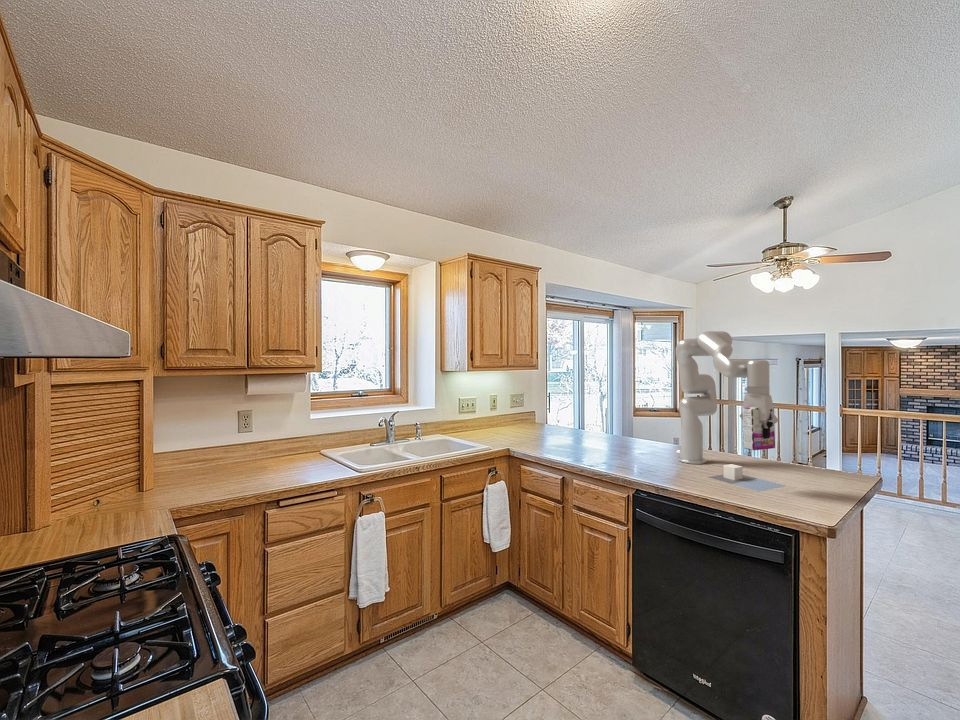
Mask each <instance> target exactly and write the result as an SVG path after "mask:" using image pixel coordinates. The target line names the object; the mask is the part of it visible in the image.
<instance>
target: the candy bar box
mask: <svg viewBox="0 0 960 720" xmlns="http://www.w3.org/2000/svg"><path fill="white" fill-rule="evenodd" d="M773 409H774V410H775V407H774V406H773ZM742 412H743V419H742V438H743V449H745V450H749V451H750V450H751V451H760V450H770V449H776V436H775V435H776V433H775V430H776V429H775V425H776V423H775V424H774V425H773V426H772V427H771V428H770V438H766V439H764V438H763V428H764V425H763V422H762V421H759V411H758V408H753V407H744V408H743V407H742ZM771 421H772V420H770V422H771Z"/></svg>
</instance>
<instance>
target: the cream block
mask: <svg viewBox="0 0 960 720" xmlns="http://www.w3.org/2000/svg"><path fill="white" fill-rule="evenodd" d="M722 467H723V474H724V477H725V478H728V479H732V480H738V479H743V475H744V474H743V472H744V471H743V470H744V469H743V466H741V465H737V464H732V463H731V464H730V463H729V464H724V465H723V466H722Z"/></svg>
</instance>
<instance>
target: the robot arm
mask: <svg viewBox="0 0 960 720" xmlns="http://www.w3.org/2000/svg"><path fill="white" fill-rule="evenodd" d="M732 344H733V338H732V336H731V335H730V333H728V332H727V331H724V330H720V331H719V330H718V331H715V330H713V331H712V330H710V331H704V332H701V333H700V334H699V335H698V336H697V338H686V339H682V340H680V341H679V342H677V344H676V346H675V358H676V360H677V364H678V369H679V370H678V371H679V372H678V373H679V383H680V389H681V391H682V393H684V394H687V395H688V394H689V395H697V394H698V395H699V394H700V395H701V396H686V397H682V398H681V399H680V400H679V403H678V409H679V415H680V426H681V427H680V428H681V429H680V430H681V431H680V432H681V434H680V435H681V439H680V440H681V449H678V450H676V451H675V453H676V454H677V455H679V456H678V458H677V460H678V461H679V462H681V463H684V464H691V465H692V464H693V465H702V464H706V463H707V462H708V461H707V460H708V459H706V458H705V457H704V434H703V433H704V429H703V427H704V426H703V423H702V422H701V419H700V418H699V417H706V416H707V417H708V416H713V415H715V414H716V413H717V410H718V397H717V387H716V382H715V380H714V378H713V377H712V376H711V375H710V374H703V373H702V374H701V373H700V372H699V365H698V363H697V362H696V360H695V358H694V357H710V356H711V357H712V361H713V362H712V363H713V366H714V368H715V369H716V370H717V371H718V372H719V373H720V374H721V375H723V376H725V377H726V378H731V379H735V378H739V379H740V378H744V379H745V378H746V385H747V386H746V387H744V390H745V391H746V393H745V395H744V397H743V403H742V408H744V407H753V408H758V411H759V421H762V422H763V425H764V428H763V438H764V439H766V438H770V428H771V427H772V426H773V425H774V424H775V425H776V424H777V423H778V422H779V418H778V416H776V415H775V408H774V409H773V407H774V402H773V397H772V395H771V394H770V388H771V387H770V362H769V361H768V360H767V359H766V360H765V359H753V358H752V359H751V358H745V359H744V358H741V359H740V358H739V359H736V358H735V359H732V358H730V357H731V356H732V354H733V346H732ZM739 417H740V418H741V420H743V411H742V412H741V414H740V415H739ZM770 420H772V421H771V422H770ZM775 425H774V426H775Z"/></svg>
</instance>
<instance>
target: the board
mask: <svg viewBox="0 0 960 720" xmlns="http://www.w3.org/2000/svg"><path fill="white" fill-rule="evenodd" d="M708 478H709V479H714V480H716V481H721V482H725V483H727V484H731V485H735V486H738V487H742V488H745V489H749V490H752V491H756V492H763V491H768V490H773V489H777V488H781V487H782V488H783V487H786V485H785V484H781V483H776V482H773V481H768V480H765V479H762V478H758V477H753V476H749V475H745V474H743V479H738V480H732V479H728V478H725V477H724V473H723V474H718V475H711V476H708Z"/></svg>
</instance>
